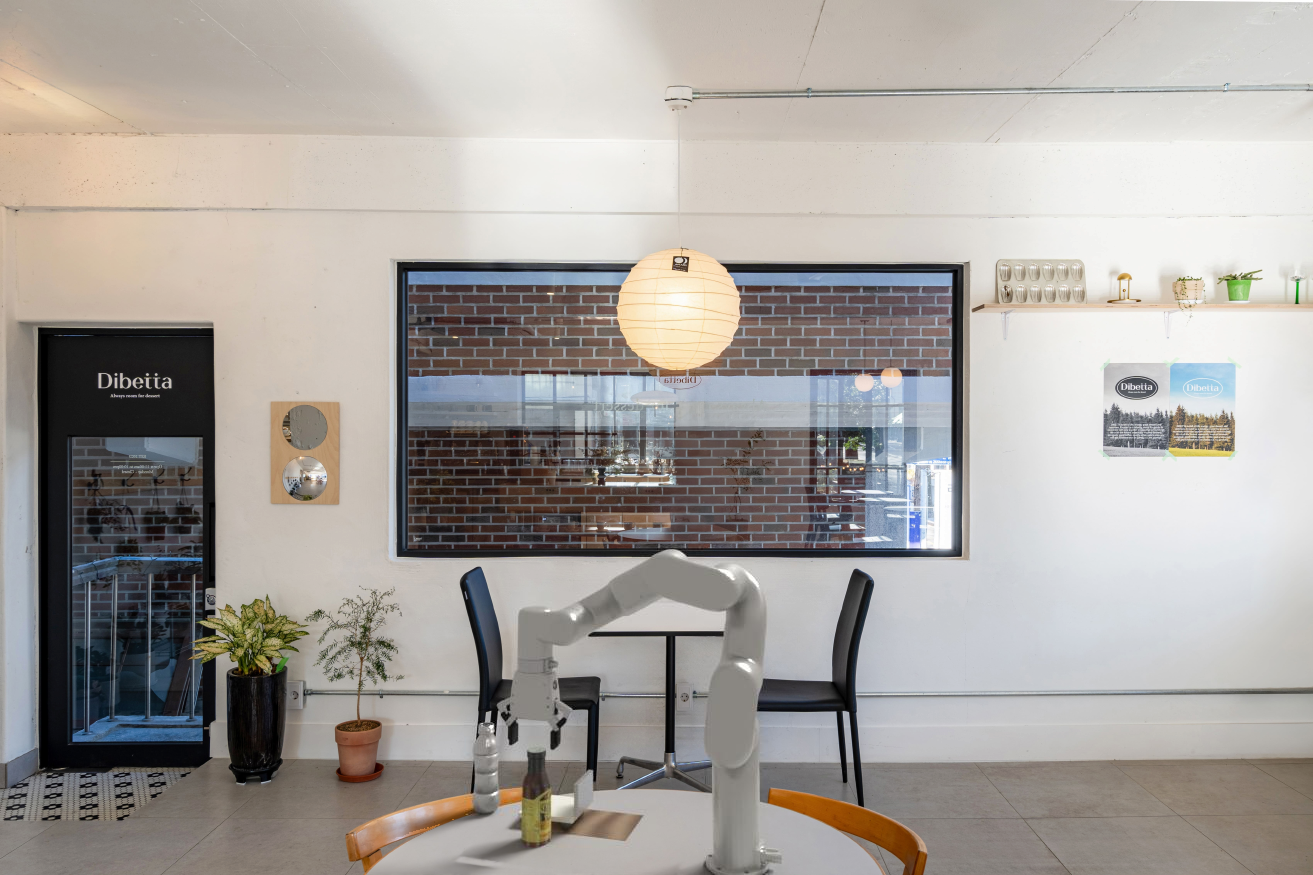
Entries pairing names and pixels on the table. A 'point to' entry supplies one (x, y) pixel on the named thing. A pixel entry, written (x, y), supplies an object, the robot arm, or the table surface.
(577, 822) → the clip board
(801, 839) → the table surface
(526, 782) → the sauce bottle
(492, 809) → the silver water bottle
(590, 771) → the white bracket
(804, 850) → the table surface
